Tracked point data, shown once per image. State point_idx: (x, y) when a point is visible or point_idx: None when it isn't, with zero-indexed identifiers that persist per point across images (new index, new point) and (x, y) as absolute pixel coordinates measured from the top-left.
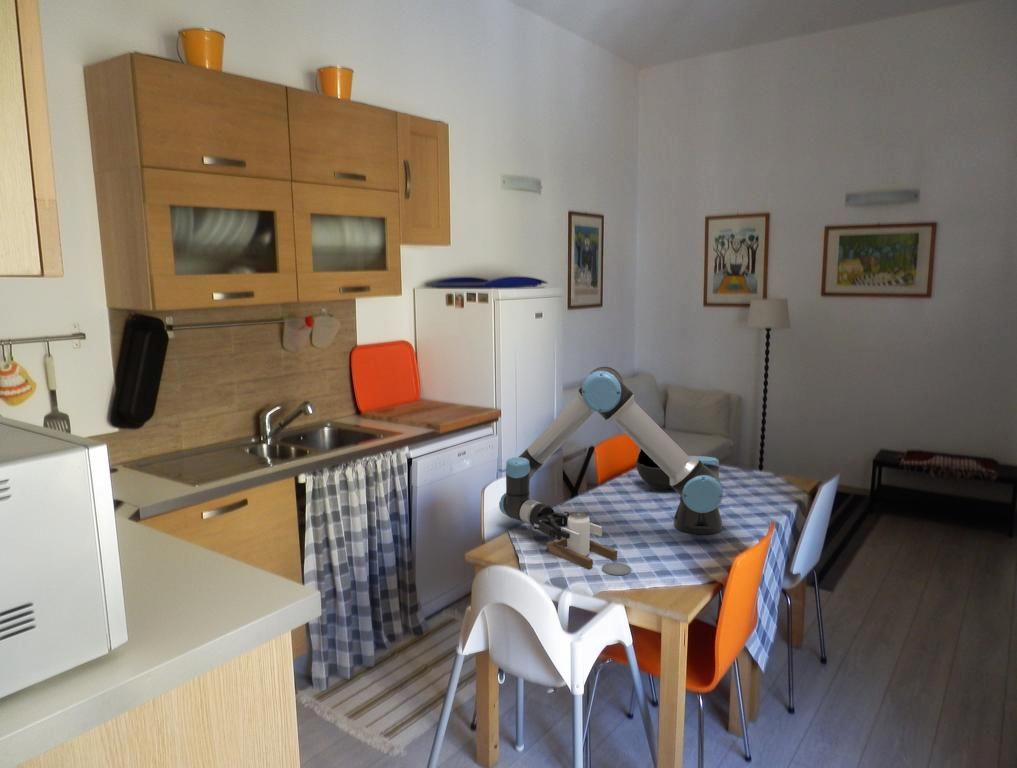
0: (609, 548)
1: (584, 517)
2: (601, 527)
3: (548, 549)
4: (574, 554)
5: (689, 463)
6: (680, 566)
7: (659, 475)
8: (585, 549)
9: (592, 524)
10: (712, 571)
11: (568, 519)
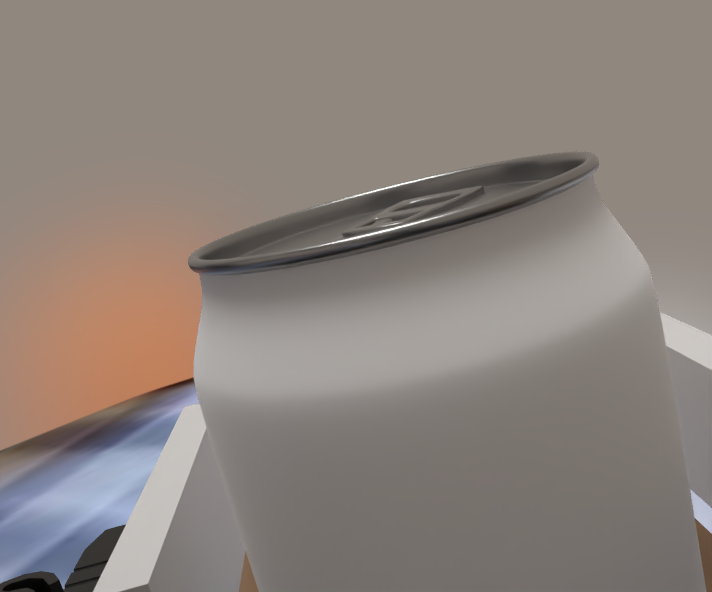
0: (251, 569)
1: (391, 194)
2: (198, 407)
3: None
4: (699, 526)
5: None
6: (103, 466)
7: None
8: None
9: (190, 463)
10: (78, 428)
11: (641, 255)
